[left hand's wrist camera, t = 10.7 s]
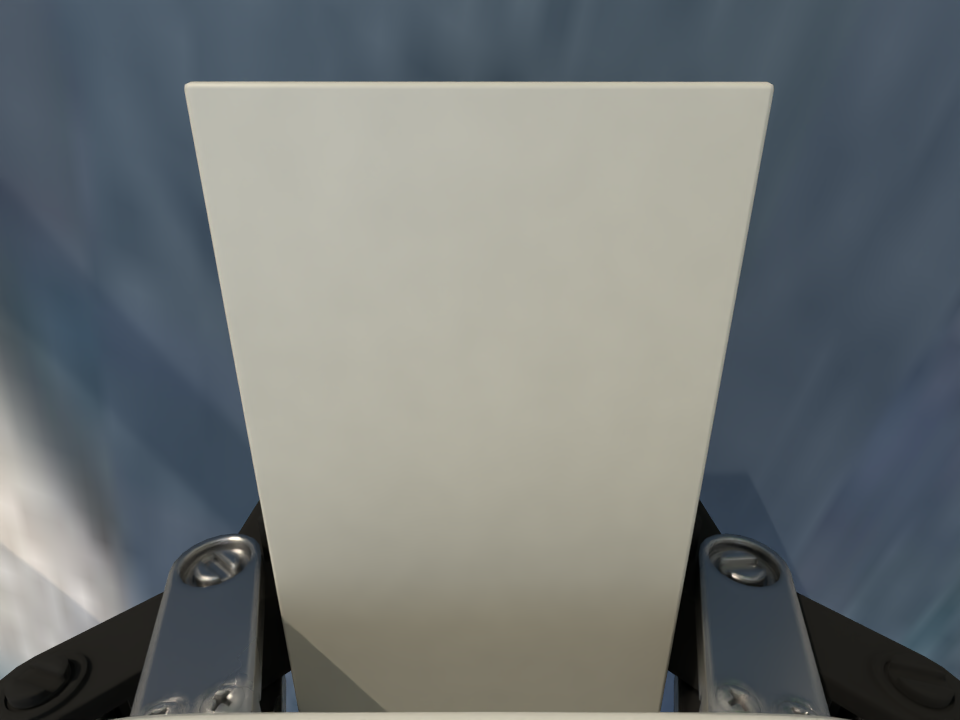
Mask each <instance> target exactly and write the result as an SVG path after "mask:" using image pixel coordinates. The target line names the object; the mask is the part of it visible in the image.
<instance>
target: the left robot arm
mask: <svg viewBox="0 0 960 720" xmlns="http://www.w3.org/2000/svg"><path fill="white" fill-rule="evenodd" d="M668 670H669V671H670V672H672V673H673V674H674V675H675V678H674V712H286V678H285V674H286V673H288V672H289V671H291V666H290V661H289V655H288V650H287V644H286V639H285V634H284V628H283V623H282V617H281V612H280V606H279V601H278V595H277V590H276V585H275V579H274V574H273V568H272V563H271V557H270V552H269V547H268V541H267V536H266V530H265V525H264V519H263V514H262V508H261V503H260V500H259V502H258V503H257V505H256V506H255V508H254V510H253V511H252V513H251V514H250V516H249V518H248V519H247V521H246V522H245V524H244V526H243V527H242V529H241V530H240V532H239V533H238V534H226V535H219V536H216V537H213V538H209V539H206V540H204V541H202V542H200V543H198V544H196V545H194V546H192V547H191V548H190V549H188V550H187V551H185V552H184V553H183V554H182V555H181V556H180V557H179V558H178V559H177V560H176V561H175V562H174V564H173V566H172V568H171V570H170V572H169V575H168V579H167V583H166V586H165V590H164V592H163V593H161V594H159V595H157V596H155V597H153V598H151V599H149V600H147V601H145V602H143V603H141V604H139V605H137V606H135V607H133V608H131V609H129V610H127V611H125V612H123V613H121V614H119V615H117V616H115V617H113V618H111V619H109V620H107V621H105V622H103V623H101V624H99V625H97V626H95V627H93V628H91V629H89V630H87V631H85V632H83V633H81V634H79V635H77V636H75V637H73V638H71V639H69V640H67V641H65V642H63V643H61V644H59V645H57V646H55V647H53V648H51V649H49V650H47V651H45V652H43V653H41V654H39V655H37V656H35V657H33V658H32V659H30V660H28V661H26V662H25V663H23V664H21V665H20V666H18V667H16V668H15V669H14V670H13V671H11V672H10V673H9V674H8V675H6V676H5V677H4V678H3V679H1V680H0V720H960V681H959V680H958V679H957V678H956V677H954V676H953V675H952V674H951V673H949V672H948V671H947V670H946V669H944V668H943V667H942V666H940V665H938V664H936V663H935V662H933V661H931V660H930V659H928V658H926V657H925V656H923V655H921V654H919V653H917V652H915V651H913V650H911V649H909V648H907V647H905V646H903V645H901V644H899V643H897V642H895V641H893V640H891V639H889V638H887V637H885V636H883V635H881V634H879V633H877V632H875V631H873V630H871V629H869V628H867V627H865V626H863V625H861V624H859V623H857V622H855V621H853V620H851V619H849V618H847V617H845V616H843V615H841V614H839V613H837V612H835V611H833V610H831V609H829V608H827V607H825V606H823V605H821V604H819V603H817V602H815V601H813V600H811V599H809V598H807V597H805V596H803V595H801V594H799V593H797V592H796V590H795V586H794V583H793V579H792V575H791V572H790V570H789V568H788V566H787V564H786V562H785V561H784V560H783V559H782V558H781V557H780V556H779V555H778V554H777V553H776V552H775V551H773V550H772V549H770V548H769V547H768V546H766V545H764V544H762V543H760V542H758V541H756V540H754V539H751V538H747V537H744V536H741V535H734V534H721V533H720V531H719V530H718V528H717V527H716V525H715V523H714V522H713V520H712V519H711V517H710V516H709V514H708V512H707V511H706V509H705V508H704V506H703V504H702V503H701V501H700V500H699V502H698V507H697V513H696V518H695V523H694V529H693V534H692V540H691V545H690V551H689V556H688V562H687V567H686V573H685V578H684V584H683V589H682V595H681V600H680V606H679V611H678V616H677V622H676V627H675V633H674V638H673V644H672V649H671V655H670V660H669V666H668Z"/></svg>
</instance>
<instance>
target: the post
mask: <svg viewBox="0 0 960 720" xmlns="http://www.w3.org/2000/svg"><path fill="white" fill-rule="evenodd" d="M773 91H774V88H773V85H772V84H770V83H768V82H190V83H188V84H186V85H185V95H186V101H187V106H188V111H189V117H190V122H191V128H192V133H193V139H194V144H195V149H196V155H197V160H198V166H199V171H200V177H201V182H202V188H203V193H204V198H205V204H206V209H207V215H208V220H209V226H210V231H211V236H212V242H213V247H214V253H215V258H216V264H217V269H218V275H219V280H220V285H221V291H222V296H223V302H224V307H225V313H226V318H227V324H228V329H229V334H230V340H231V345H232V351H233V356H234V362H235V367H236V372H237V378H238V383H239V389H240V394H241V400H242V405H243V411H244V416H245V421H246V427H247V432H248V438H249V443H250V449H251V454H252V459H253V465H254V470H255V476H256V481H257V487H258V492H259V498H260V503H261V508H262V514H263V519H264V525H265V530H266V536H267V541H268V547H269V552H270V557H271V563H272V568H273V574H274V579H275V585H276V590H277V595H278V601H279V606H280V612H281V617H282V623H283V628H284V634H285V639H286V644H287V650H288V655H289V661H290V666H291V672H292V677H293V682H294V688H295V693H296V699H297V704H298V710H299V712H660V709H661V704H662V699H663V693H664V688H665V682H666V677H667V671H668V666H669V660H670V655H671V649H672V644H673V638H674V633H675V627H676V622H677V616H678V611H679V606H680V600H681V595H682V589H683V584H684V578H685V573H686V567H687V562H688V556H689V551H690V545H691V540H692V534H693V529H694V523H695V518H696V513H697V507H698V502H699V496H700V491H701V485H702V480H703V474H704V469H705V463H706V458H707V452H708V447H709V441H710V436H711V430H712V425H713V420H714V414H715V409H716V403H717V398H718V392H719V387H720V381H721V376H722V370H723V365H724V359H725V354H726V348H727V343H728V337H729V332H730V326H731V321H732V316H733V310H734V305H735V299H736V294H737V288H738V283H739V277H740V272H741V266H742V261H743V255H744V250H745V244H746V239H747V233H748V228H749V223H750V217H751V212H752V206H753V201H754V195H755V190H756V184H757V179H758V173H759V168H760V162H761V157H762V151H763V146H764V140H765V135H766V130H767V124H768V119H769V113H770V108H771V102H772V97H773Z"/></svg>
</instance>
